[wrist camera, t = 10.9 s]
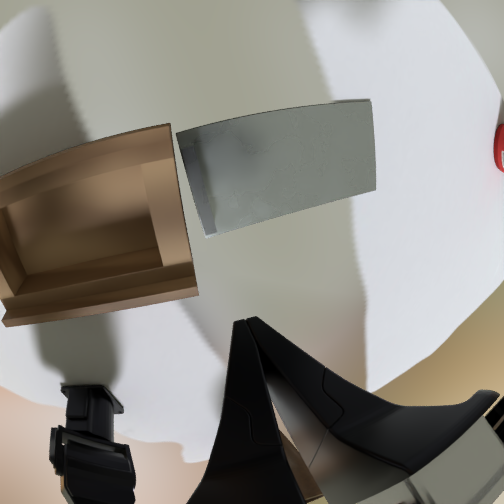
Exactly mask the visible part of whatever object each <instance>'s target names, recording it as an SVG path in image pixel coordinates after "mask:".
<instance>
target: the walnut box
mask: <svg viewBox="0 0 504 504" xmlns="http://www.w3.org/2000/svg"><path fill="white" fill-rule="evenodd" d="M198 295H199V293H198V287H197V282H196V276H195V270H194V265H193V258H192V253H191V248H190V243H189V238H188V233H187V228H186V223H185V217H184V211H183V205H182V200H181V194H180V188H179V181H178V175H177V168H176V162H175V154H174V148H173V140H172V132H171V124H170V123H166V124H161V125H156V126H151V127H146V128H142V129H137V130H133V131H129V132H125V133H121V134H117V135H113V136H109V137H105V138H102V139H98V140H95V141H91V142H88V143H85V144H82V145H79V146H76V147H72V148H70V149H67V150H64V151H61V152H58V153H55V154H53V155H50V156H47V157H45V158H42V159H40V160H37V161H35V162H32V163H30V164H27V165H25V166H23V167H20V168H18V169H16V170H14V171H12V172H9V173H7V174H5V175H3V176H1V177H0V300H1V302H2V303H3V305H4V307H5V309H6V310H7V311H6V313H5V315H4V317H3V319H2V320H1V321H2V322H3V324H4V325H5V327H13V326H21V325H28V324H36V323H43V322H50V321H57V320H64V319H70V318H77V317H83V316H89V315H95V314H101V313H107V312H113V311H119V310H125V309H130V308H136V307H141V306H147V305H152V304H158V303H163V302H168V301H173V300H179V299H183V298H188V297H194V296H198Z"/></svg>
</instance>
